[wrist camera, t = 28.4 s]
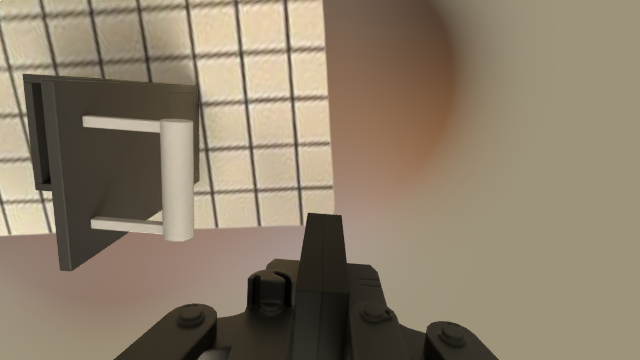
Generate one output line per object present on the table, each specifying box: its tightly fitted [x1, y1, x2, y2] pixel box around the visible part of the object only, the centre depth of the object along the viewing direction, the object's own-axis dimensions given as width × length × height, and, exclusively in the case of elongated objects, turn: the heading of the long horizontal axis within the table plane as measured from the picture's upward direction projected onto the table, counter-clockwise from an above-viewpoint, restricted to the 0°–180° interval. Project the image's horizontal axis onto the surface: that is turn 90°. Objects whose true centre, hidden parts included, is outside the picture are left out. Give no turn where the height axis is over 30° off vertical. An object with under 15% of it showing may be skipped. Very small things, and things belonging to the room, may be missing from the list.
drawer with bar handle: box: [41, 79, 194, 271], centre depth 30 cm, size 16×12×8 cm
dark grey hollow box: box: [23, 74, 199, 191], centre depth 42 cm, size 15×12×9 cm
